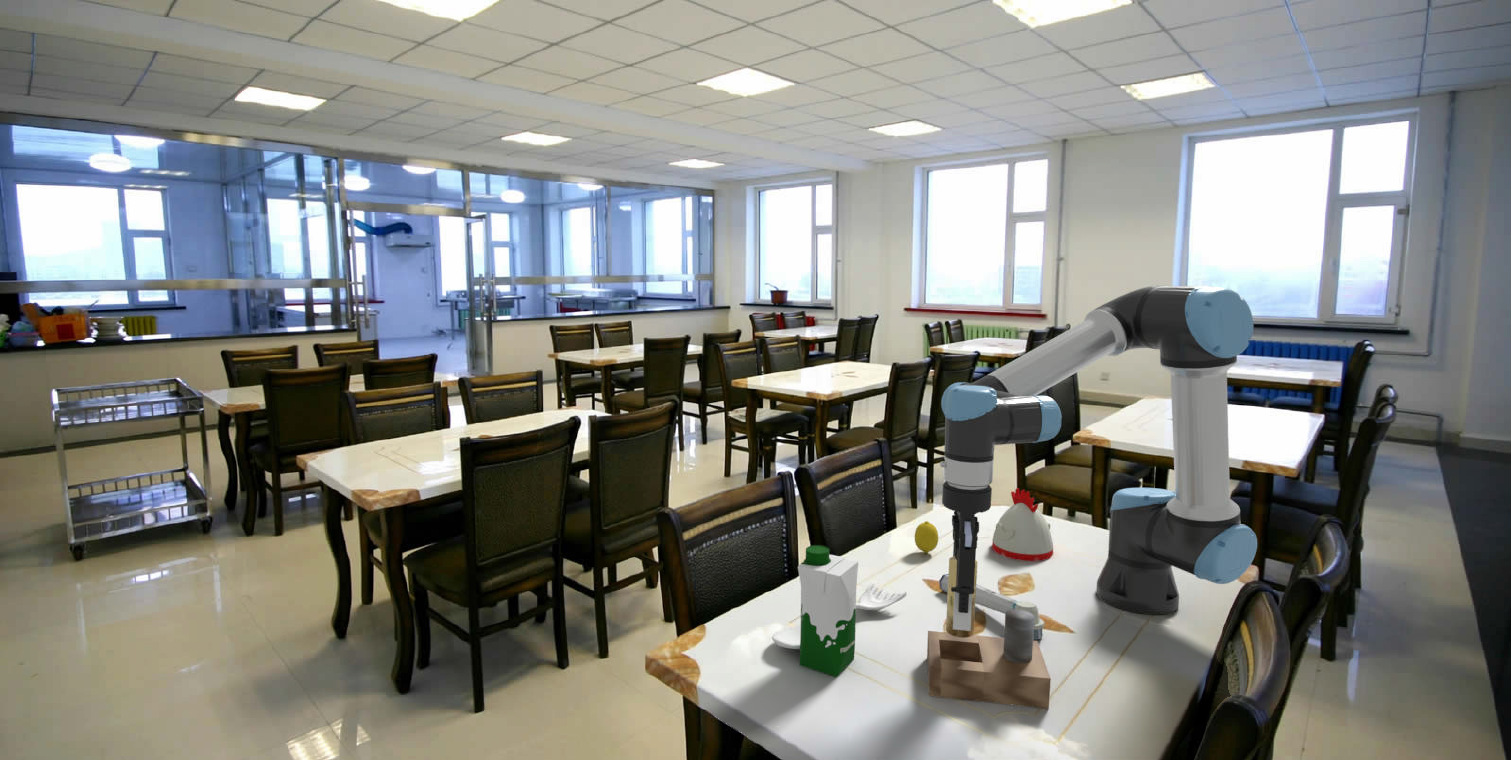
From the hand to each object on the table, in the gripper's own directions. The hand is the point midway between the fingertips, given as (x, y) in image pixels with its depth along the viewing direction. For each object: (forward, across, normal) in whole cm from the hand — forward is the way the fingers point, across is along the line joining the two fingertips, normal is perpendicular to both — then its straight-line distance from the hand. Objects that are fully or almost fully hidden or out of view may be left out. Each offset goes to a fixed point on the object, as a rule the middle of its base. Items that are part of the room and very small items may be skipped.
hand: (960, 621), depth 121 cm
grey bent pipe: (+10, -26, +8) cm, 29 cm away
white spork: (+10, -14, -21) cm, 27 cm away
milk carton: (+10, -1, -22) cm, 24 cm away
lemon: (+10, -56, -4) cm, 57 cm away
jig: (+10, 0, +4) cm, 11 cm away
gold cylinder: (+2, 0, 0) cm, 2 cm away
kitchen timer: (+10, -63, +19) cm, 67 cm away
